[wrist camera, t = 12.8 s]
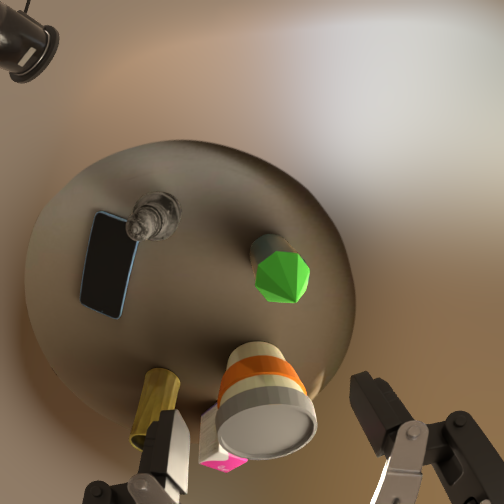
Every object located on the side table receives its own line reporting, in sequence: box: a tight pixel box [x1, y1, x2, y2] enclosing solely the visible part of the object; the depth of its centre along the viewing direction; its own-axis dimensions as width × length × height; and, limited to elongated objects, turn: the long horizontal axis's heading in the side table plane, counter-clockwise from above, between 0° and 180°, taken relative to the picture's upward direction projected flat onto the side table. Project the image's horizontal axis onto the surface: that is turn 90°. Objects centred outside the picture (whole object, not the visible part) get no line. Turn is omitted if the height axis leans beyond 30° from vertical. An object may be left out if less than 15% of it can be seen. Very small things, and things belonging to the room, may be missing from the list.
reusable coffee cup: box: [215, 341, 317, 460], centre depth 35 cm, size 13×13×15 cm
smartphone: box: [80, 211, 139, 319], centre depth 36 cm, size 7×1×15 cm
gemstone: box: [255, 251, 310, 303], centre depth 26 cm, size 6×6×6 cm
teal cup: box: [249, 234, 309, 284], centre depth 34 cm, size 6×6×9 cm
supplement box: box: [199, 402, 247, 472], centre depth 40 cm, size 6×6×12 cm
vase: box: [129, 368, 180, 452], centre depth 35 cm, size 6×6×14 cm
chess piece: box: [126, 192, 182, 241], centre depth 29 cm, size 6×6×12 cm
